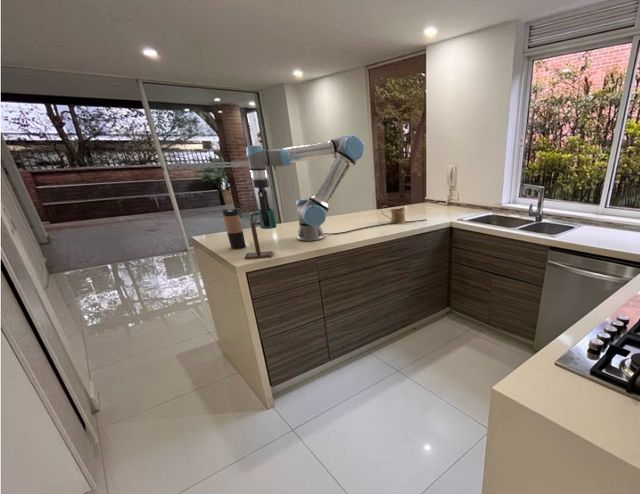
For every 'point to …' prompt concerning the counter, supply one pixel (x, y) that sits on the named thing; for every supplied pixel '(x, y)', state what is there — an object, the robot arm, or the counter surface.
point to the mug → (397, 215)
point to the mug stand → (257, 245)
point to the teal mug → (261, 222)
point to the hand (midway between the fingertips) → (268, 224)
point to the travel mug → (234, 228)
